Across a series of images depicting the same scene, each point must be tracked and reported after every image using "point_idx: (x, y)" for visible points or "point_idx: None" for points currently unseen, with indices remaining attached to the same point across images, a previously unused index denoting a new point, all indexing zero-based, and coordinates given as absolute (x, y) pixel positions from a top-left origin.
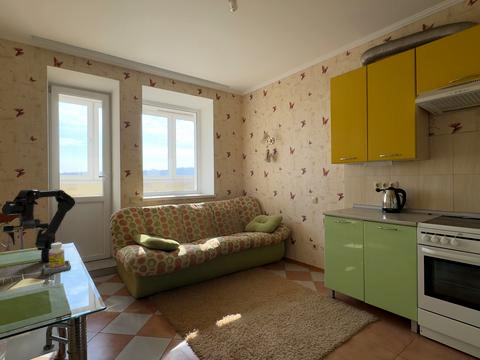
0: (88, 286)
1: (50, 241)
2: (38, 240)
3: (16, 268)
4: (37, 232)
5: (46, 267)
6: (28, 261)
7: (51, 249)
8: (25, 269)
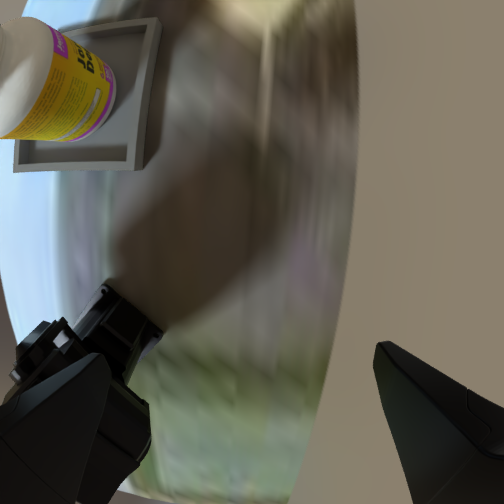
0: None
1: (17, 365)
2: (112, 445)
3: (284, 300)
4: (28, 476)
5: (125, 156)
6: (216, 389)
7: (19, 46)
8: (241, 234)
